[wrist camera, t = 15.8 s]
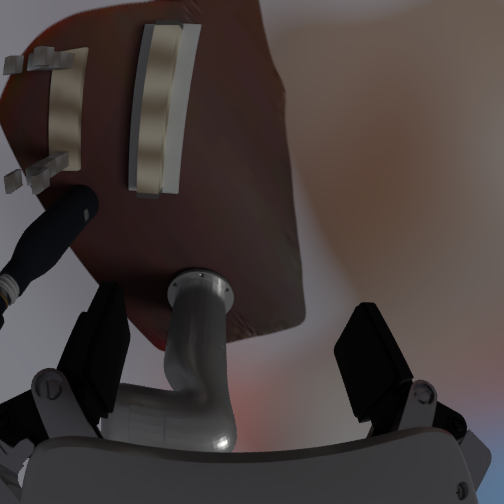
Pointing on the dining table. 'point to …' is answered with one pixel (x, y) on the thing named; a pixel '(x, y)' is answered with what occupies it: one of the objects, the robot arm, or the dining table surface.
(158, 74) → the rail
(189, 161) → the dining table surface
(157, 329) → the dining table surface
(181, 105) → the mat
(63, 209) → the wine bottle
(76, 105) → the rack
